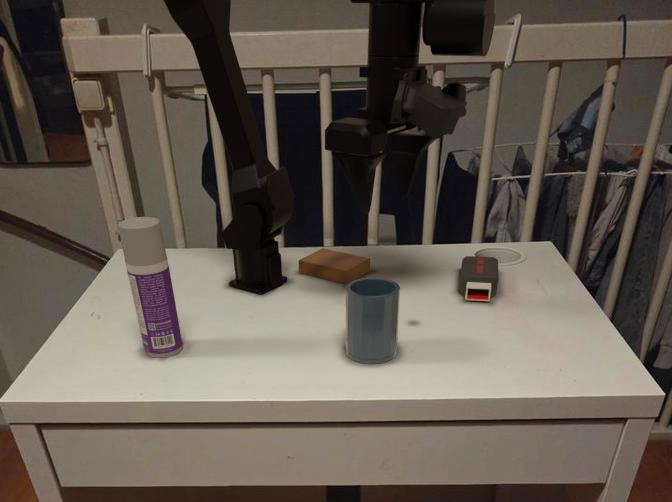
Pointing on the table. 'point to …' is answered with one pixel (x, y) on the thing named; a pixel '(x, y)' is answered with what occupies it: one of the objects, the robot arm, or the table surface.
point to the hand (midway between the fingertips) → (385, 203)
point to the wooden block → (334, 265)
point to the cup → (372, 319)
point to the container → (151, 285)
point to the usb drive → (478, 278)
